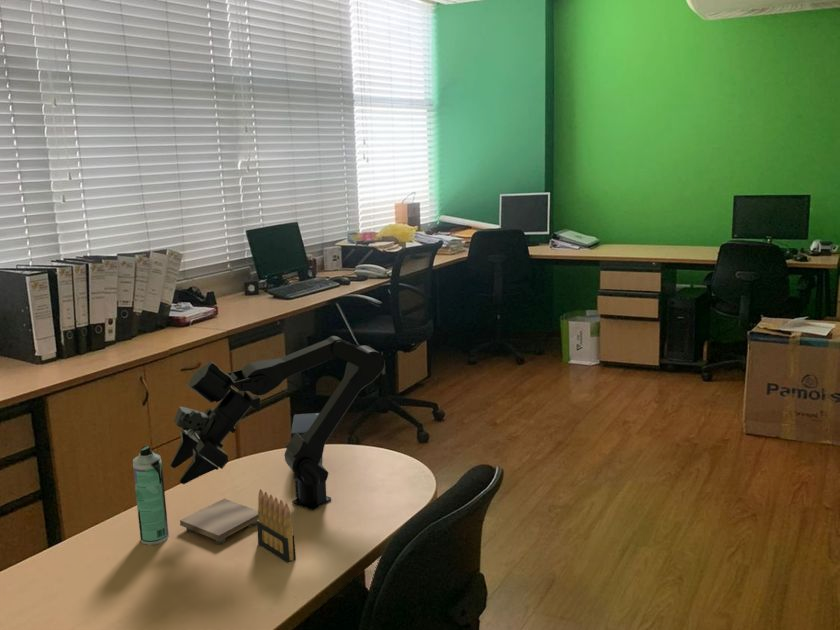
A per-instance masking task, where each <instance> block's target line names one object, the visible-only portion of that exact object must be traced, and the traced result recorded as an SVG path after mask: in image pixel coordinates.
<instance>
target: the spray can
mask: <svg viewBox="0 0 840 630" xmlns="http://www.w3.org/2000/svg"><path fill="white" fill-rule="evenodd" d="M132 467H133V468H132V470H133V477H134V488H135V498H136V499H135V500H136V508H137V518H138V526H139V536H140V541H141V542H140V543H141V544H143V543H144V544H143V545H145V544H148V545H147V546H154V545H155V544H156V545H158V544H159V545H160V544H163V543H164V542H166V541H167V540H168V539H169V534H170V533H169V524H168V515H167V514H168V513H167V504H166V494H165V483H164V482H165V481H164V474H163V473H164V472H163V462H162V458H161V455H160V454H157V453H154V451H153V450H151V446H149V445H146V446H142V447H141V449H140V452H139V454H138V455H137V456H135V457H134V458H133V459H132ZM153 544H154V545H153Z"/></svg>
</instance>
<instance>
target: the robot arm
mask: <svg viewBox="0 0 840 630" xmlns="http://www.w3.org/2000/svg"><path fill="white" fill-rule="evenodd" d="M336 358H339V359H341V360H344V361H346V362H347V363H346V366H345V370H344V375H343V378H342V379H341V381H340V383H339V384H338V386H337V387H336V388H335V390H334V392H333V393H332V394H331V396H330V397H329V398H328V400H327V402H326V403H325V405H324V406H323V408H322V409H321V410H320V411H319V413H320V414H319V415H318V417H317V418H316V420H315V421H314V423H313V424H312V425H311V427H310V428H309V430H308V431H307V432H305V433H304V434H302V435H301V436H300V435H299V434H298V433H295V434H294V435H293V438H292V440H291V439H290V441H289V442H288V443H287V444H286V445H285V446H284V448H285V452H284V461H285V463H286V464H287V466H288V467H289V468H290V470H291V471H292V472H293V474H294V473H295V474H296V478H295V481H294V488H295V499H293V500H291V503H292V505H295V506H299V507H301V508H304V509H307V510H310V511H314V510H316V509H318V508H320V507H322V506H323V505H325V504H327V503H329V502H331V501H332V497H331V496H328V495H327V483H326V482H327V479H328V476H329V471H328V470H327V469H326V468H325V467H324V465H323V464H322V465H321V464H320V460H321V458H322V459H323V455H324V450H325V445H326V442H327V441H328V439H330V437H331V435H332V434H333V432H334V430H336V428H337V426H338V425H339V423H340V421H341V420H342V418H343V417H344V416H345V414H346V413H347V411H348V410H349V408H350V407H351V405H352V403H354V400H355V399H356V397H357V396H358V395H359V393H360V392H361V390H363V389H364V388H365V387H367V386H368V385H370V384H371V383H374V381H375V380H376V379H377V377H379V376H380V374H381V373H382V372H383V371H384V369H385V367H386V363H385V358H384V356H383V355H382V353H380V352H379V351H377V350H375V349H374V348H372V347H370V346H368V345H360V346H358V345H355V344H353V343H351V342H349V341H347V340H343V338H340V337H339V336H336V335H331V336H329V337H328V338H326V339H324V340H322V341H319V342H316V343H314V344H311V345H309V346H306V347H305V348H301V349H300V350H297V351H294V352H291V353H290V354H286V355H285V356H282V357H280V358H272V359H271V358H270V359H262V360H258V361H253V362H249V363H248V364H246V365H244V366H243V368H241V369H237V370H234V371H230V372H227V373H226V372H224V371H223V370H222V369H221V368H220V367H218V365H217V364H216V363H215V362H213V361H211V360H210V361H209V362H208V363H207V364H205V365H204V366H202V367H200V368H199V369H197V370H196V371H195V372H194V374H192V377H190V380H189V382H188V386H187V387H188V388H190V389H191V390H193V392H195V393H197V394H198V395H199V396H201V397H202V398H203V399H204V400H206V401H208V402H209V403H214V402H215V403H217V404H216V406H214V407H213V408H212V407H209V408H207V409H206V410H205V411H204V412H202V411H199V410H196V409H193V408H190V407H189V408H188V407H186V406H179V407H178V408H177V411H176V413H175V416H174V418H173V422H175V424H176V427H178V428H179V433H180V438H181V441H180V443H179V446H178V448H177V450H176V451H175V453H174V457H173V458H172V461H171V463H170V467H172V468H173V469H176V468H177V467H179V466H180V465H182V464H183V463H185V462H186V461H187V460H189V459H190V458H191V457H193V459H192V460H191V462H190V463H189V465H188V466H187V468H186V469H185V471H184V472H183V474H182V476H181V477H180V479H179V483H180V484H182V485H185V484H188V483H190V482H192V481H193V480H195V479H197V478H200V477H201V476H203V475H206V474H208V473H210V472H212V471H214V470H216V471H217V470H219V469H221V470H223V468H224V467H225V466H226V465H227V463H228V462H229V455H228V454H227V452H226V451H225V450H224V449H223V447H224V444H223V443H222V442H223V441H224V440H225V439H226V437H227V436H228V435H229V434H230V433H233V434H234V433H235V432H236V431H237V428H236V427H235V426H237V425H238V423H239V422H240V421H241V419H242V418H243V417H244V416H245V415H246V413H247V412H248V411H249V410H250V409H251V407H252V408H254V409H255V410H256V411H258V412H260V411H261V410H262V408H261V398H260V397H261V396H263V395H266V394H268V393H269V392H270V393H271V391H273V390H274V389H276V388H278V387H279V386H280V385H282V384H283V383H284V381H285V380H287V379H288V378H290V377H292V376H295V375H297V374H299V373H300V374H301V373H302V372H304V371H306V370H309V369H312V368H314V367H317V366H319V365H321V364H324V363H326V362H329V361H331V360H333V359H336ZM232 386H233V387H232ZM236 389H237V390H236ZM250 393H251V394H250ZM252 395H253V396H252Z"/></svg>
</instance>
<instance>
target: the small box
mask: <svg viewBox="0 0 840 630" xmlns="http://www.w3.org/2000/svg"><path fill="white" fill-rule="evenodd" d="M319 414H320V412H315V413H301V414H300V413H299V414H294V415H293V418H292V426H291V432H290V438H291V439H290V441H291V440H292V438H293V435H294V434H295V433H298V434H299V435H300V436H301V435H302V434H304V433H305V432H307V431H308V430H309V428H310V427H311V425H312V424H313V423H314V421H315V420H316V418H317V417H318V415H319ZM320 464H321V465H322V466H323V457H322V458H321V460H320ZM293 478H294V479H296V474H295V473H294V472H293Z"/></svg>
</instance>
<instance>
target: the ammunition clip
mask: <svg viewBox="0 0 840 630" xmlns="http://www.w3.org/2000/svg"><path fill="white" fill-rule="evenodd" d="M257 500H258V501H257V502H258V503H257V505H258V507H257V510H258V519H259V520H258V521H257V525H256V526H257V529H256V530H257V545H259V546H260V547H261V548H263V549H265V550H267V551H269V552H270V553H271V554H273V555H274V556H276V557H277V558H279V559H280V560H282V561H284V562H286V563H287V564H289V563H291V562H294V561H295V560H297V554H296V543H295V540H296V539H295V535H294V534H293V524H292V519H291V511H290V506H289V504H288V503H287V502H285V503H283V500H282V499H280V500H278V498H277V497H273V495H272V494H270V495H269V494H268V493H267V491H265V492H263V490H262V489H261V488H260V489H259V491H258V499H257Z"/></svg>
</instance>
